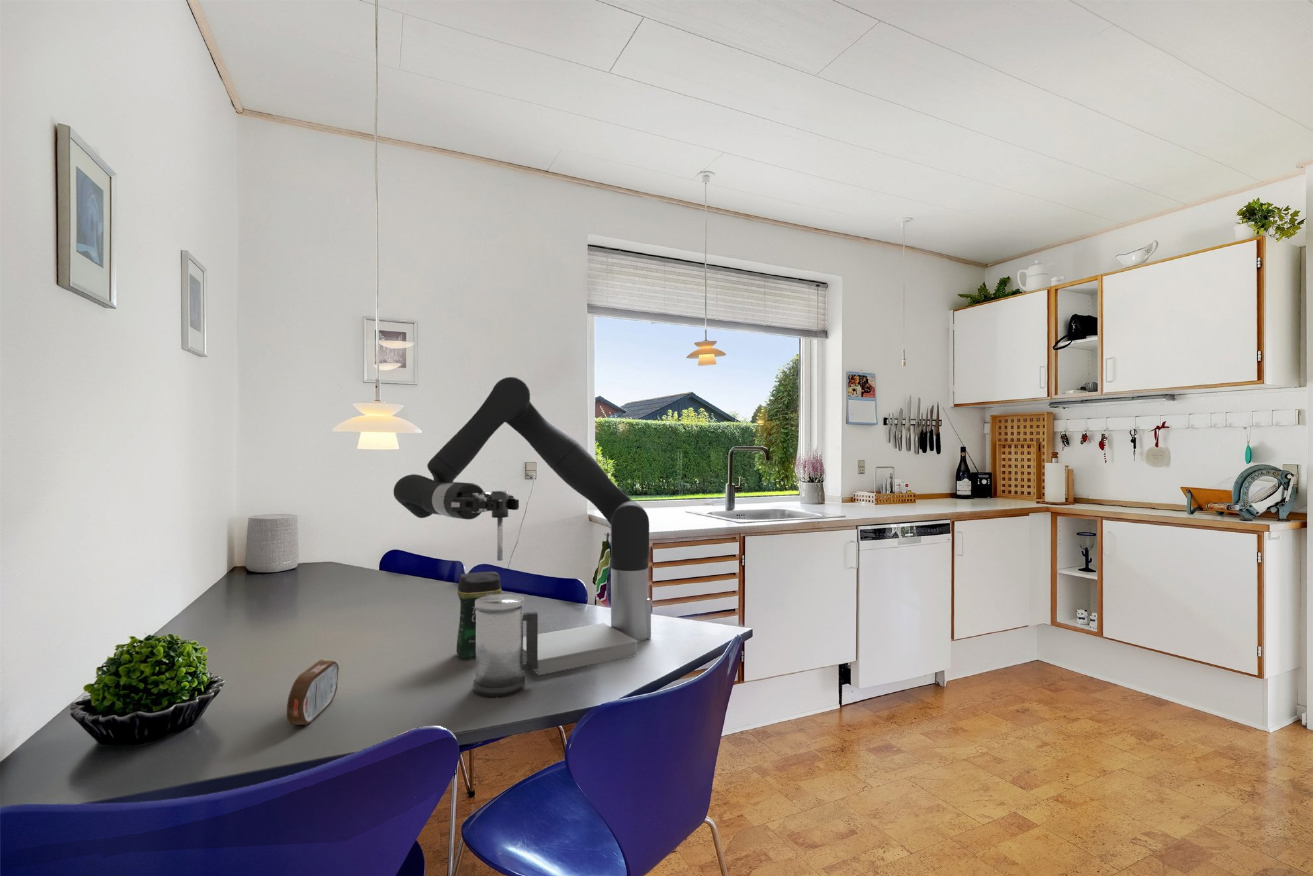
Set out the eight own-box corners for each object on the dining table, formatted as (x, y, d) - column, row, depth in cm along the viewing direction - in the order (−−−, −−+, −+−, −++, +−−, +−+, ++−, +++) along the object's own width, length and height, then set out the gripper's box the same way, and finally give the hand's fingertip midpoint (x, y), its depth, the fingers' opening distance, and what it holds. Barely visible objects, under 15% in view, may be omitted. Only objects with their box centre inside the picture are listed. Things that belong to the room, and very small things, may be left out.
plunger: (507, 558, 126) (507, 490, 126) (509, 561, 123) (509, 491, 123) (490, 559, 125) (490, 491, 125) (492, 562, 122) (492, 492, 122)
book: (638, 640, 143) (538, 660, 130) (638, 657, 143) (538, 678, 130) (601, 621, 158) (508, 637, 145) (601, 637, 158) (508, 654, 145)
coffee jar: (459, 663, 138) (460, 577, 138) (454, 652, 145) (454, 571, 145) (504, 656, 142) (504, 573, 142) (496, 646, 149) (496, 567, 150)
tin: (324, 698, 119) (324, 653, 119) (341, 697, 119) (342, 652, 119) (284, 734, 104) (284, 683, 104) (304, 733, 104) (304, 682, 104)
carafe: (532, 674, 131) (532, 591, 131) (541, 691, 122) (541, 602, 122) (471, 682, 127) (471, 596, 127) (475, 700, 117) (476, 608, 118)
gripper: (428, 484, 128) (478, 487, 117) (486, 481, 139) (537, 484, 128) (427, 521, 128) (478, 528, 117) (486, 515, 139) (537, 521, 128)
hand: (509, 505), depth 122 cm, fingers closed on plunger, 3 cm apart
